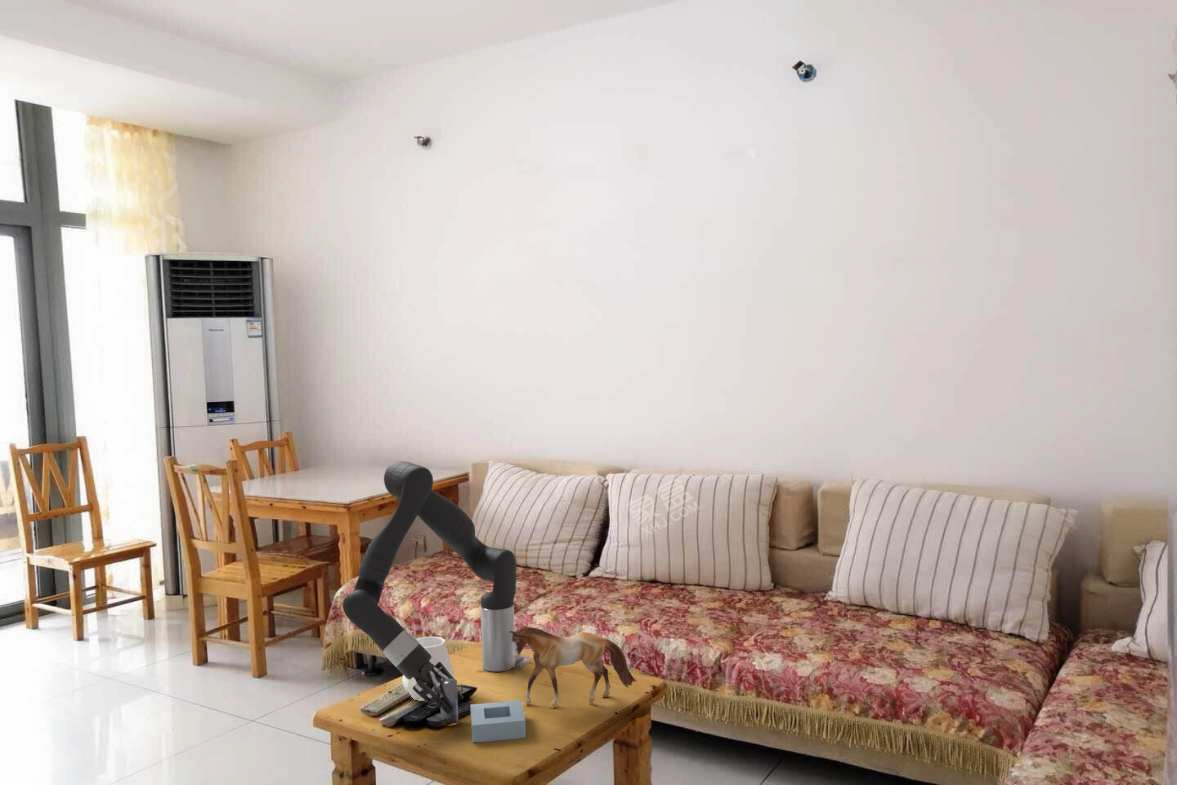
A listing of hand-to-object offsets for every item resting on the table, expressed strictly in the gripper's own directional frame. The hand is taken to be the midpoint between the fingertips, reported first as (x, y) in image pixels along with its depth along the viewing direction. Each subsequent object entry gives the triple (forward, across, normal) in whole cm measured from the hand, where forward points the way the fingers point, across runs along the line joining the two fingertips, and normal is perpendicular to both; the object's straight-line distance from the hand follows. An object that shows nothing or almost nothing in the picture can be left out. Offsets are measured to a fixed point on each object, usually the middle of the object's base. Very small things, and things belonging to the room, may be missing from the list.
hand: (456, 705), depth 206 cm
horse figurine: (+22, +13, -15) cm, 29 cm away
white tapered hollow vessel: (-6, +16, +12) cm, 21 cm away
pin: (+2, 0, +4) cm, 5 cm away
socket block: (+11, -2, -4) cm, 12 cm away
